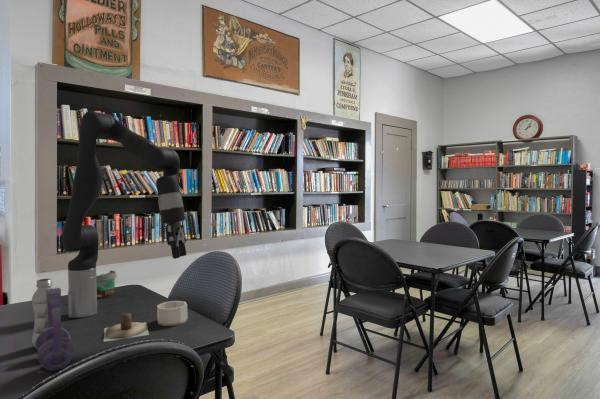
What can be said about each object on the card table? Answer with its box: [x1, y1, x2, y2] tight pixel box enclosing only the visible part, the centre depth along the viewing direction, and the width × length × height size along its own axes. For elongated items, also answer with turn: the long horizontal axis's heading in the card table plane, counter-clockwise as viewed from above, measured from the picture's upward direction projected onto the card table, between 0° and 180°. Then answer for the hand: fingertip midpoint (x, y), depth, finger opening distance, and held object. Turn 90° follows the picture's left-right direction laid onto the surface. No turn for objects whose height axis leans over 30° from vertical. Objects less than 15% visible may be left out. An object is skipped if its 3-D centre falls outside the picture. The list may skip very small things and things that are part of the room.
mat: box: [103, 322, 150, 343], centre depth 130 cm, size 13×13×1 cm
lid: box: [106, 312, 146, 339], centre depth 130 cm, size 12×12×6 cm
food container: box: [96, 270, 118, 299], centre depth 174 cm, size 12×6×10 cm, turn 168°
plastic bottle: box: [31, 278, 53, 349], centre depth 119 cm, size 6×7×20 cm
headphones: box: [35, 287, 75, 371], centre depth 108 cm, size 18×8×20 cm, turn 36°
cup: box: [156, 300, 189, 327], centre depth 140 cm, size 10×10×6 cm
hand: (180, 257), depth 130 cm, fingers open, 8 cm apart
